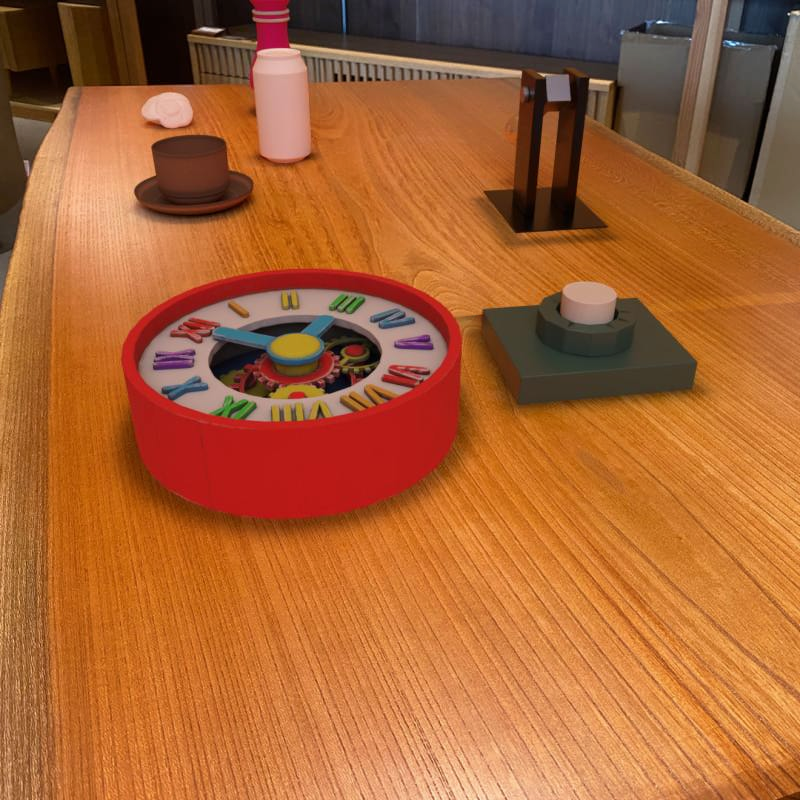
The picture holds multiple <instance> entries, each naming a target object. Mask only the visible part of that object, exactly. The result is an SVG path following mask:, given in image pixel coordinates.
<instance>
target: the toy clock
mask: <svg viewBox="0 0 800 800" xmlns="http://www.w3.org/2000/svg"><path fill="white" fill-rule="evenodd" d="M460 327H461V326H460V325H459V323H458V322H457V320H456V318H455V316H454V315H453V313H452V312H451V311H450V310H449V309H448V308H447V307H446V306H445V305H444V304H443V303H442V302H440V301H439V300H438V299H436V298H434V297H433V296H432V295H430V294H428V293H426V292H425V291H423V290H421V289H418V288H416V287H414V286H411V285H410V284H408V283H404V282H401V281H398V280H396V279H392V278H390V277H385V276H381V275H375V274H372V273H368V272H367V273H366V272H362V271H361V272H360V271H353V270H345V269H335V268H287V269H286V268H284V269H271V270H262V271H256V272H249V273H243V274H239V275H234V276H229V277H226V278H222V279H218V280H215V281H211V282H208V283H204V284H202V285H198V286H195V287H193V288H191V289H188V290H186V291H184V292H181V293H178V294H177V295H174V296H172V297H171V298H168V299H167V300H165V301H164V302H162V303H160V304H159V305H156V306H155V307H154V308H152V309H151V310H150V311H148V312H147V313H146V314H144V316H142V317H141V318H140V319H139V320H138V321H137V322H136V323H135V324H134V326H133V327H132V328H131V329H130V330H129V332H128V334H127V335H126V338H125V340H124V342H123V344H122V348H121V356H120V362H121V367H122V373H123V378H124V383H125V387H126V392H127V398H128V402H129V403H128V404H129V409H130V412H131V418H132V424H133V429H134V434H135V437H136V443H137V447H138V451H139V456H140V459H141V461H142V462H143V464H144V466H145V467H146V469H147V470H148V472H149V473H150V475H151V476H152V477H153V478H154V479H156V481H158V483H160V484H161V485H162V486H163V487H164V488H165V489H166V490H168V491H170V492H172V493H173V494H175V495H177V496H178V497H180V498H182V499H184V500H185V501H187V502H190V503H192V504H196V505H197V506H201V507H204V508H206V509H209V510H212V511H215V512H221V513H226V514H230V515H234V516H238V517H245V518H246V517H247V518H256V519H267V520H268V519H269V520H290V519H311V518H317V517H325V516H331V515H339V514H343V513H347V512H350V511H351V512H352V511H354V510H358V509H361V508H366V507H370V506H372V505H374V504H378V503H379V502H382V501H384V500H386V499H389V498H392V497H394V496H397V495H398V494H400V493H402V492H404V491H406V490H407V489H410V488H411V487H412V486H414V485H416V484H418V483H419V482H421V481H422V480H423V479H425V477H427V476H428V475H429V474H431V473H432V472H433V471H435V469H437V468H438V467H439V465H440V463H441V462H442V461H444V459H445V458H446V456H447V455H448V454H449V453H450V451H451V450H452V447H453V444H454V442H455V440H456V438H457V435H458V428H459V420H460V400H461V399H460V396H461V373H462V372H461V371H462V353H463V351H462V349H463V337H462V332H461V328H460Z"/></svg>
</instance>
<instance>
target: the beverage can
mask: <svg viewBox="0 0 800 800" xmlns="http://www.w3.org/2000/svg"><path fill="white" fill-rule="evenodd" d="M301 53H302V52H301V50H299V49H295V48H291V49H288V48H274V49H265V50H261V51H258V52H257V59H256V62H255V64H254V67H253V69H252V71H253V82H254V90H253V92H254V103H255V104H254V105H255V115H256V126H257V137H258V138H257V139H258V147H259V148H258V149H259V154H260V155H261V156H262V157H264V158H266V159H267V160H268V161H269V162H273V163H278V164H289V163H290V164H291V163H296V162H301V161H303V160H304V159H305V158H306V157H308V156H309V155H311V153H312V130H311V127H312V126H311V112H310V111H311V109H310V91H309V75H308V67H307V65H306V63H305V61H304V59H303V58H302V56H301V55H302V54H301Z"/></svg>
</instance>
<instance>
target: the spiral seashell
mask: <svg viewBox="0 0 800 800" xmlns="http://www.w3.org/2000/svg"><path fill="white" fill-rule="evenodd" d="M139 109H140V110H141V113H140V114H141V116H142V118H143V119H145V120H146V121H148V122H150V123H153V124H155V125H158V126H159V125H160V126H162V127H164V128H166V129H173V130H175V129H179V128H182V127H183V128H185V127H187V126H189V125H190V124H191V123H192V121H193V117H194V111H193V108H192V105H191V102H190V100H189V99H188V97H187V96H185V95H184V94H182V93H179V92H174V91H173V92H172V91H168V92H167V91H166V92H162V93H160V94H157V95H154V96H151V97H150V98H149V99H148V100H146V102H145V103H144V104H143V106H142V107H139Z"/></svg>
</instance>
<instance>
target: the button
mask: <svg viewBox="0 0 800 800" xmlns="http://www.w3.org/2000/svg"><path fill="white" fill-rule="evenodd" d="M561 291H562V299H561V308H560V315H561V317H564V318H566V319H568V320H570V321H572V322H575V323H581V324H587V325H593V324H606V323H609V322H611V321H612V320H613V318H614V312H615V305H616V298H618V293H617V291H616V290H615V289H614V288H612V287H611V286H609V285H607V284H604V283H601V282H595V281H586V280H585V281H583V280H582V281H574V282H570V283H568V284H566V285H564V286H563V288H562V290H561Z"/></svg>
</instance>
